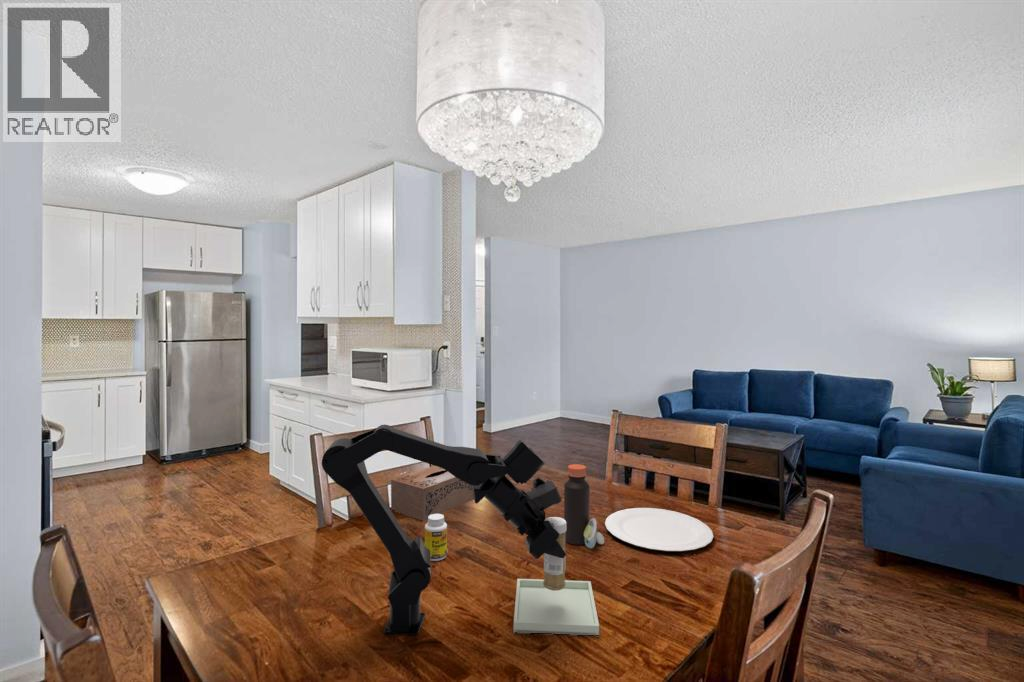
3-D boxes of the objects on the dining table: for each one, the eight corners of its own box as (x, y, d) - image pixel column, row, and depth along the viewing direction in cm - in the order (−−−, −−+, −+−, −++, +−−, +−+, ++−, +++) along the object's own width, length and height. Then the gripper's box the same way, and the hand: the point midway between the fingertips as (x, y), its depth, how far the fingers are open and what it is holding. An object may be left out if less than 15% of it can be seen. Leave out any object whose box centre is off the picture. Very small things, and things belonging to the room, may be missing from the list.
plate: (738, 546, 130) (738, 539, 130) (646, 565, 119) (647, 558, 119) (665, 508, 157) (665, 502, 157) (585, 521, 146) (586, 514, 146)
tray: (599, 636, 92) (599, 625, 91) (513, 632, 92) (513, 622, 92) (590, 590, 108) (590, 581, 107) (517, 587, 108) (517, 578, 108)
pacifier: (593, 538, 124) (580, 547, 127) (614, 547, 125) (600, 556, 129) (594, 512, 129) (581, 522, 133) (614, 521, 131) (601, 530, 134)
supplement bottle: (430, 564, 119) (430, 522, 118) (421, 555, 123) (421, 515, 123) (450, 558, 122) (451, 517, 121) (441, 549, 126) (441, 510, 126)
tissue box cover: (423, 522, 145) (423, 488, 144) (391, 511, 153) (391, 479, 153) (479, 497, 165) (479, 468, 165) (448, 489, 174) (448, 461, 174)
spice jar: (567, 582, 101) (569, 518, 101) (561, 593, 97) (563, 526, 96) (546, 578, 103) (547, 514, 102) (539, 588, 99) (540, 522, 98)
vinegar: (570, 532, 137) (571, 461, 137) (593, 538, 134) (593, 465, 133) (559, 541, 132) (559, 467, 131) (582, 547, 128) (583, 471, 127)
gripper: (549, 485, 89) (605, 541, 92) (527, 457, 108) (574, 505, 110) (505, 530, 88) (563, 586, 90) (490, 495, 106) (539, 542, 109)
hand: (561, 550), depth 100 cm, fingers closed on spice jar, 4 cm apart
